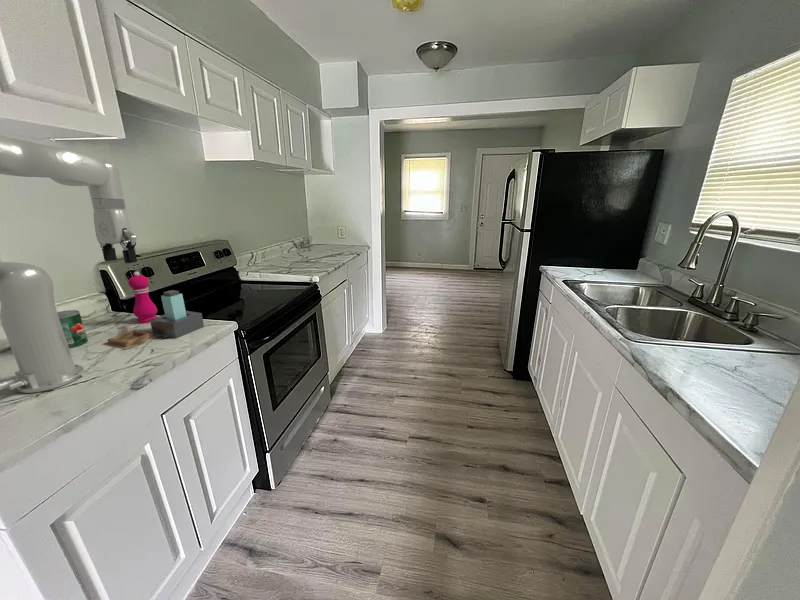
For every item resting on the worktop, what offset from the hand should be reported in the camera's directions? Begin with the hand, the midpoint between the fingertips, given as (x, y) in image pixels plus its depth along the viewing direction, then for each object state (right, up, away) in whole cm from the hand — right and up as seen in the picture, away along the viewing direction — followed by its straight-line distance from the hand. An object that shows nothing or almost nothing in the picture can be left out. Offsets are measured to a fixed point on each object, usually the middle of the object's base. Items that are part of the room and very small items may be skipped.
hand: (120, 261), depth 103 cm
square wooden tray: (-2, -26, +7) cm, 27 cm away
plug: (+9, -20, +14) cm, 26 cm away
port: (+9, -24, +15) cm, 29 cm away
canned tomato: (-18, -27, +3) cm, 33 cm away
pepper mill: (-9, -21, +23) cm, 33 cm away
